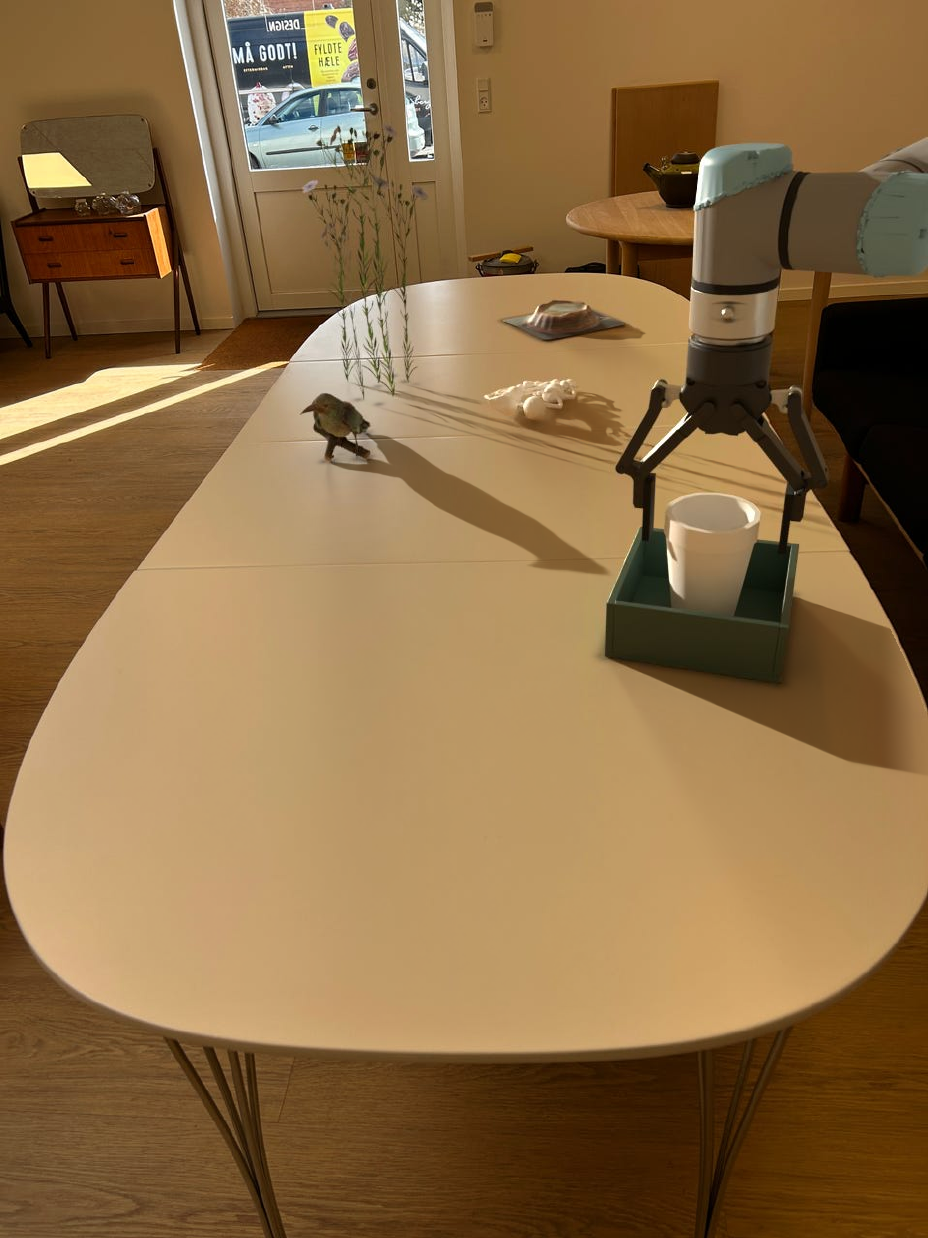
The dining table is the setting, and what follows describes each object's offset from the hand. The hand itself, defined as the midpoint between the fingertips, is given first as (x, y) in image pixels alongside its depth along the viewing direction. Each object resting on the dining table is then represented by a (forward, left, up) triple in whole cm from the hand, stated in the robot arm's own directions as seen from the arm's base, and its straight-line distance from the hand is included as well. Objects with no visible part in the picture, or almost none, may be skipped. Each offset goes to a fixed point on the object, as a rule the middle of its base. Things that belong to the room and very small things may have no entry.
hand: (713, 541), depth 96 cm
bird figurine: (+61, -35, -11) cm, 71 cm away
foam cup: (0, 0, -10) cm, 10 cm away
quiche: (+46, -115, -11) cm, 125 cm away
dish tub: (0, 0, -10) cm, 10 cm away
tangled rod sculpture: (+38, -63, -11) cm, 75 cm away
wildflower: (+68, -65, -11) cm, 95 cm away
